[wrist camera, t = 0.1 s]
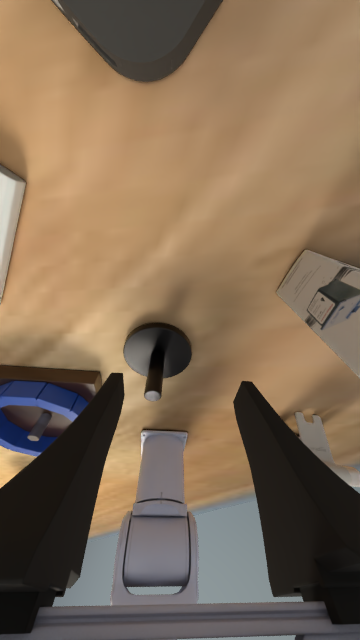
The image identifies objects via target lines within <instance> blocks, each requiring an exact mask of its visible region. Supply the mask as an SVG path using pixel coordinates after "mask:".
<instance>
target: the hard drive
mask: <svg viewBox="0 0 360 640" xmlns="http://www.w3.org/2000/svg"><path fill="white" fill-rule="evenodd" d="M25 186H26V182H25V181H24V180H23V179H22V178H20V177H19V176H17V175H16V174H14V173H13V172H11V171H10V170H8V169H7V168H5V167H4V166H2V165H0V304H1V299H2V295H3V291H4V286H5V281H6V277H7V272H8V267H9V262H10V258H11V252H12V248H13V243H14V238H15V233H16V228H17V224H18V219H19V214H20V210H21V205H22V200H23V196H24V191H25Z"/></svg>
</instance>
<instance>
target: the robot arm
mask: <svg viewBox="0 0 360 640" xmlns="http://www.w3.org/2000/svg"><path fill="white" fill-rule="evenodd" d="M123 400H124V383H123V373H111V374H110V375H109V377H108V378H107V380H106V381H105V383H104V384H103V385H102V387H101V388H100V389H99V391H98V392H97V393H96V395H95V396H94V397H93V398H92V400H91V401H90V402H89V403H88V405H87V406H86V407H85V408H84V409H83V411H82V412H81V413H80V414H79V415H78V416H77V417H76V419H75V420H74V421H73V422H72V423H71V424H70V425H69V426H68V427H67V428H66V429H65V430H64V431H63V432H62V433H61V434H60V435H59V437H58V438H57V439H56V440H55V441H53V442H52V443H51V444H50V445H49V446H48V447H47V448H46V449H45V450H44V451H43V452H42V453H41V454H40V455H39V456H38V457H37V458H35V459H34V460H33V461H32V462H31V463H30V464H29V465H28V466H26V467H25V468H24V469H23V470H22V471H21V472H19V473H18V474H17V475H16V476H15V477H13V478H12V479H11V480H10V481H9V482H8V483H6V484H5V485H4V486H3V487H2V488H0V640H177V639H187V638H188V639H189V638H219V637H248V636H249V637H250V636H279V635H280V636H281V635H296V637H295V640H360V494H359V493H358V492H357V491H355V490H354V489H353V488H352V487H351V486H350V485H348V484H347V483H346V482H345V481H344V480H343V479H341V478H340V477H339V476H338V475H337V474H336V473H335V472H334V471H332V470H331V469H330V468H329V467H328V466H327V465H326V464H325V463H324V462H322V461H321V460H320V459H319V458H318V457H317V456H316V455H315V454H314V453H313V452H312V451H311V450H310V449H309V448H308V447H307V446H306V445H305V444H304V443H303V442H302V441H301V440H300V439H299V438H298V437H297V436H296V435H295V434H294V432H293V431H292V430H291V429H290V428H289V427H288V426H287V425H286V424H285V422H284V421H283V420H282V419H281V418H280V416H279V415H278V414H277V413H276V412H275V410H274V409H273V408H272V407H271V406H270V404H269V403H268V402H267V401H266V399H265V398H264V397H263V395H262V394H261V393H260V392H259V390H258V389H257V388H256V387H255V385H254V384H253V383H252V382H249V381H242V382H241V385H240V387H239V389H238V392H237V394H236V397H235V399H234V401H233V403H234V409H235V414H236V420H237V423H238V427H239V430H240V434H241V437H242V440H243V444H244V447H245V450H246V454H247V457H248V461H249V464H250V468H251V473H252V478H253V483H254V487H255V493H256V498H257V503H258V508H259V514H260V520H261V526H262V532H263V539H264V546H265V553H266V560H267V567H268V575H269V582H270V586H271V590H272V594H273V596H274V597H293V596H302V597H303V601H304V602H275V603H274V602H269V603H219V604H197V601H198V565H199V554H198V553H199V552H198V535H197V526H196V521H195V518H194V517H193V515H192V513H191V512H187V504H184V464H183V452H184V448H185V444H186V440H187V436H188V434H187V432H176V431H153V430H142V432H141V464H140V472H139V479H138V486H137V493H136V500H135V503H134V504H133V511H128V512H127V514H126V515H125V516H124V517H123V520H122V524H121V528H120V533H119V538H118V545H117V550H116V558H115V564H114V575H113V585H112V591H111V598H110V603H111V606H69V607H68V606H66V607H52V605H53V602H54V599H55V597H63V596H64V594H65V590H66V588H71V586H73V585H74V583H75V582H76V581H77V580H78V578H79V577H80V573H81V567H82V563H83V559H84V553H85V548H86V544H87V539H88V534H89V530H90V525H91V520H92V516H93V511H94V507H95V502H96V498H97V494H98V489H99V485H100V481H101V477H102V472H103V468H104V464H105V461H106V457H107V454H108V451H109V448H110V445H111V442H112V438H113V435H114V432H115V429H116V426H117V423H118V420H119V417H120V414H121V409H122V405H123ZM155 586H156V587H157V586H182V588H181V589H180V591H179V592H178V593H175V594H172V595H134V594H131V593H130V592H129V591H128V589H127V588H126V587H155Z"/></svg>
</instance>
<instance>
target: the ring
mask: <svg viewBox="0 0 360 640" xmlns="http://www.w3.org/2000/svg"><path fill="white" fill-rule="evenodd" d="M7 405H23V406H37V407H41V408H44V409H47V410H50V411H53V412H56V413H59V414H62V415H64V416H65V417H67V418H68V419H69V420H71V421H72V422H73V421H74V420H75V419H76V417H77V416H78V415H79V414H80V413H81V412H82V411H83V409H84V408H85V407H86V406H87V405H88V402H87V401H86V400H85V399H84V398H83V397H82V396H80V395H78V394H77V393H74V392H72V391H69V390H66V389H64V388H61V387H58V386H56V385H53V384H50V383H48V384H47V383H46V382H30V381H11V382H9V383H6V384H4V385H1V386H0V408H1V407H4V406H7ZM29 433H30V432H28V431H25V430H23V429H22V428H20V427H18V426H17V425H15V424H13V423H12V422H10V421H8V420H7V418H6V416H5V415H4V413H3V412H2V410H1V409H0V445H1V446H3V447H5V448H7V449H10V450H12V451H16V452H20V453H24V454H28V455H32V456H36V457H37V456H39V455H40V454H41V453H42V452H43V451H44V450H45V449H46V448H47V447H48V446H49V445H50V444H51V443H52V442H53V441H55V440H56V439H57V438H58V437H45V436H42V435H41V437H40V439H39V440H38V441H32V440H29V439H28V438H27V437H28V435H29Z"/></svg>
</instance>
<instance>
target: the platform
mask: <svg viewBox="0 0 360 640" xmlns="http://www.w3.org/2000/svg"><path fill="white" fill-rule="evenodd" d="M11 381H30V382H46V383H47V384H48V383H50V384H53V385H56V386H58V387H61V388H64V389H66V390H69V391H72V392H74V393H77V394H78V395H80V396H82V397H83V398H84V399H85V400H86V401H87V402H88V403H89V402H90V401H91V400H92V398H93V397H94V396H95V395H96V393H97V392H98V391H99V389H100V388H101V387H102V383H101V377H100V372H94V371H79V370H63V369H48V368H32V367H17V366H1V365H0V386H1V385H4V384H6V383H9V382H11ZM0 409H1V410H2V412H3V413H4V415H5V416H6V418H7V420H8V421H10V422H12V423H13V424H15V425H17V426H18V427H20V428H22V429H23V430H25V431H28V432H30V433H29V435H28V437H27V438H28V439H29V440H32V441H38V440H39V439H40V437H41V435H42V436H45V437H59V435H60V434H61V433H62V432H63V431H64V430H65V429H66V428H67V427H68V426H69V425H70V424H71V423H72V421H71V420H69V419H68V418H67V417H65V416H64V415H62V414H59V413H56V412H53V411H50V410H47V409H44V408H41V407H37V406H23V405H7V406H4V407H1V408H0Z"/></svg>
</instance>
